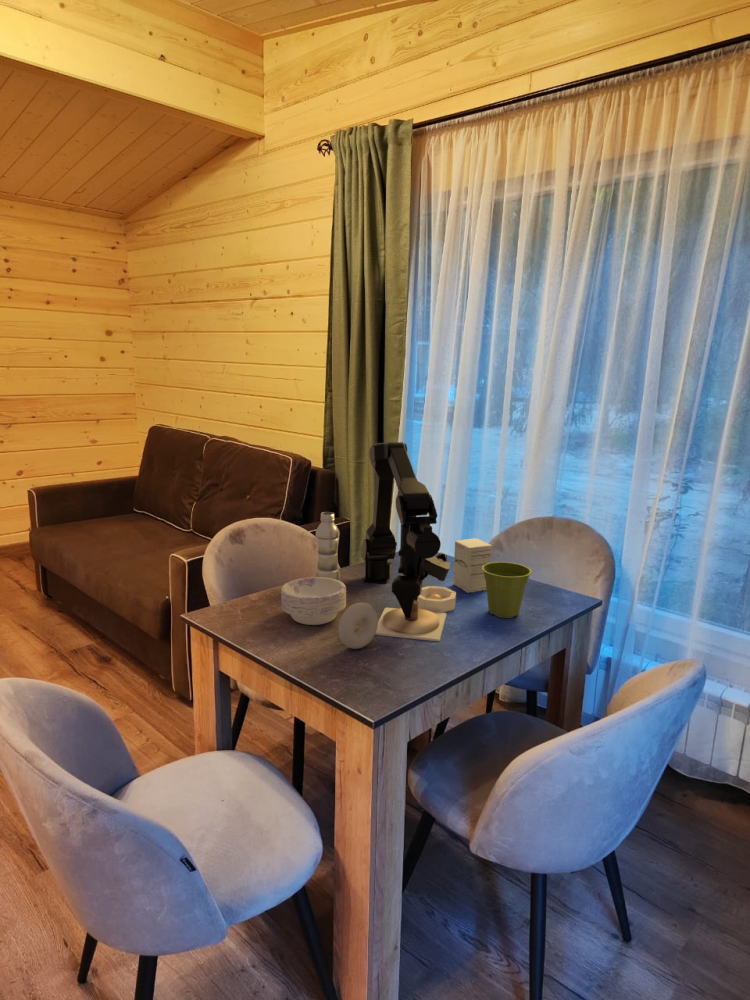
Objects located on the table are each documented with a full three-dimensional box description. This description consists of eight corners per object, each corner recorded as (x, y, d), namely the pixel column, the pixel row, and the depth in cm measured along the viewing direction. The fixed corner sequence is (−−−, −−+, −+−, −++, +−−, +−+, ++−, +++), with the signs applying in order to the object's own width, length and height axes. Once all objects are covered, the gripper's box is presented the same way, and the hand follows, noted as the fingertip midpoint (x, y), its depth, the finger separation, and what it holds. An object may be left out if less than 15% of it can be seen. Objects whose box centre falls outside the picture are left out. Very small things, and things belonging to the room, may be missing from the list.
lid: (377, 631, 143) (378, 610, 141) (388, 609, 155) (389, 590, 154) (435, 636, 140) (436, 615, 139) (442, 614, 152) (442, 594, 151)
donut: (370, 638, 140) (371, 595, 138) (381, 643, 137) (381, 600, 135) (334, 651, 134) (334, 606, 131) (345, 657, 131) (345, 611, 129)
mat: (372, 634, 142) (372, 632, 142) (385, 609, 156) (385, 607, 156) (439, 641, 139) (439, 639, 139) (446, 615, 153) (446, 613, 153)
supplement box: (452, 584, 174) (453, 540, 171) (474, 581, 177) (477, 537, 174) (466, 593, 168) (469, 547, 165) (490, 589, 171) (492, 544, 168)
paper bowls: (307, 601, 161) (307, 571, 159) (358, 613, 153) (358, 582, 152) (268, 621, 148) (267, 589, 146) (321, 636, 141) (321, 602, 139)
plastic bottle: (341, 581, 175) (341, 510, 171) (337, 590, 169) (337, 517, 164) (318, 580, 176) (317, 510, 172) (313, 588, 169) (313, 516, 165)
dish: (412, 613, 156) (412, 598, 155) (418, 598, 166) (418, 584, 165) (452, 617, 154) (453, 602, 153) (456, 602, 164) (457, 588, 163)
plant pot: (538, 619, 151) (541, 574, 149) (492, 624, 148) (495, 578, 146) (513, 601, 162) (516, 559, 160) (471, 606, 159) (473, 563, 157)
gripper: (444, 560, 133) (441, 629, 136) (452, 536, 151) (450, 598, 154) (391, 556, 135) (390, 624, 138) (406, 533, 153) (404, 594, 156)
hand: (411, 609), depth 147 cm, fingers open, 9 cm apart
